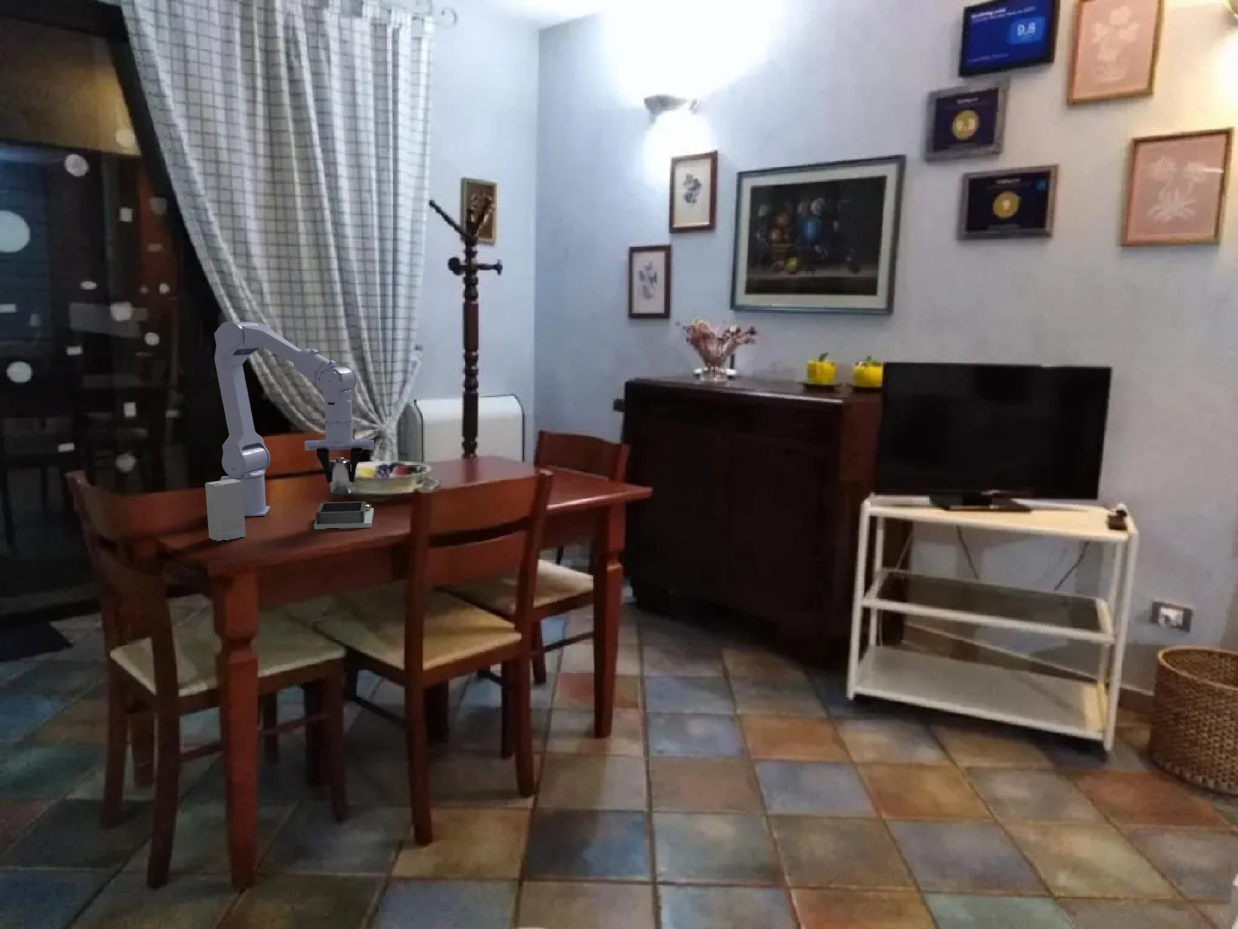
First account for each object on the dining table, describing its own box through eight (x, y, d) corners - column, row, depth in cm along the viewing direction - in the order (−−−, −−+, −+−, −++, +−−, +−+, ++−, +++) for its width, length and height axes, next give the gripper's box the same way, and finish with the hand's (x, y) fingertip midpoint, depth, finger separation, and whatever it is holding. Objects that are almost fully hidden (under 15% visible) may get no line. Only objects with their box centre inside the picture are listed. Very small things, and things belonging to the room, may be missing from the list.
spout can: (330, 494, 191) (328, 459, 190) (332, 488, 197) (331, 455, 195) (350, 494, 192) (349, 459, 191) (352, 488, 198) (351, 454, 196)
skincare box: (236, 533, 184) (233, 477, 181) (246, 537, 181) (243, 481, 179) (207, 539, 179) (203, 481, 177) (217, 543, 176) (214, 485, 174)
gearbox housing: (314, 529, 189) (313, 513, 188) (320, 513, 202) (319, 499, 201) (371, 527, 191) (370, 512, 191) (373, 512, 205) (373, 497, 204)
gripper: (302, 424, 185) (304, 486, 188) (372, 423, 189) (373, 484, 191) (305, 419, 192) (308, 479, 194) (373, 419, 195) (374, 478, 198)
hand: (340, 481), depth 193 cm, fingers closed on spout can, 4 cm apart
